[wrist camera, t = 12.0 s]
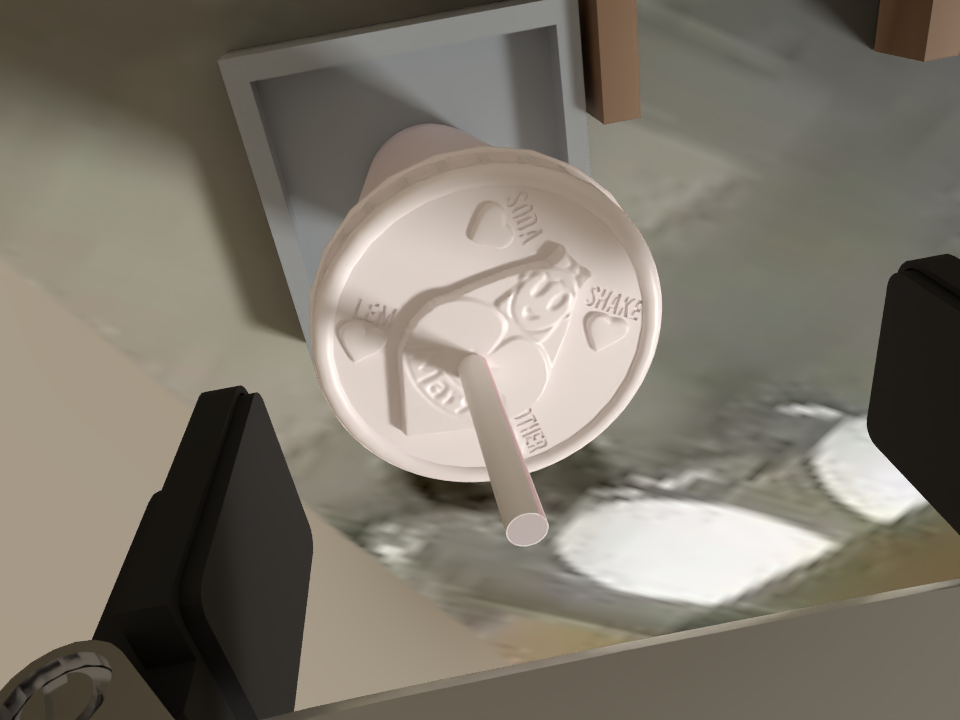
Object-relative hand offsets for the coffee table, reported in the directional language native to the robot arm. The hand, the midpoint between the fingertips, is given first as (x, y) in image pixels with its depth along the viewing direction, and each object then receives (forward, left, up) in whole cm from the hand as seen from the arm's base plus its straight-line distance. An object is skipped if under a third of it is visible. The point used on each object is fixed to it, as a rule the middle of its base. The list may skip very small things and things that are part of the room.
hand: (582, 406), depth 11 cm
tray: (+1, 0, -13) cm, 13 cm away
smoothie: (+1, 0, -12) cm, 12 cm away
